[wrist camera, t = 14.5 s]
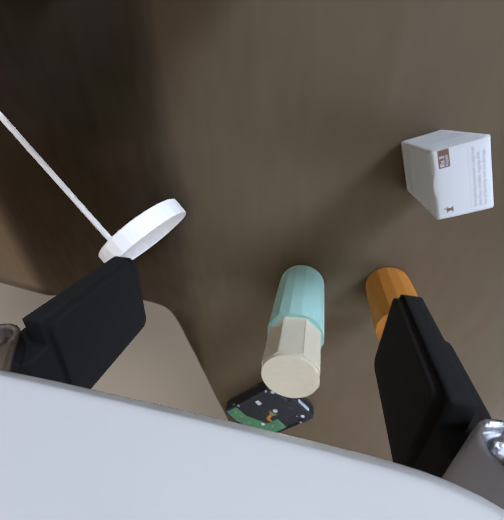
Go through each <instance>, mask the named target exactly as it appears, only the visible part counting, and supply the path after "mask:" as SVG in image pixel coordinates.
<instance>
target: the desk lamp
mask: <svg viewBox="0 0 504 520" xmlns="http://www.w3.org/2000/svg"><path fill="white" fill-rule="evenodd" d="M0 120H1V122H2V123H3V124H4V125H5V126H6V127H7V128H8V129H9V131H10V132H11V133H12V134H13V135H14V136H15V137H16V138H17V140H18V141H19V142H20V143H21V144H22V145H23V146H24V147H25V149H26V150H27V151H28V152H29V153H30V154H31V155H32V156H33V158H34V159H35V160H36V161H37V162H38V163H39V164H40V165H41V166H42V168H43V169H44V170H45V171H46V172H47V173H48V174H49V175H50V177H51V178H52V179H53V180H54V181H55V182H56V183H57V184H58V186H59V187H60V188H61V189H62V190H63V191H64V192H65V193H66V195H67V196H68V197H69V198H70V199H71V200H72V201H73V202H74V204H75V205H76V206H77V207H78V208H79V209H80V210H81V211H82V213H83V214H84V215H85V216H86V217H87V218H88V219H89V220H90V222H91V223H92V224H93V225H94V226H95V227H96V228H97V229H98V230H99V232H100V233H101V234H102V235H103V236H104V237H105V238H106V239H107V242H106V243H105V244H104V246H103V247H102V248H101V250H100V252H99V258H100V259H101V260H102V261H103V262H104V263H105V262H107V261H108V260H110V259H111V258H113V257H115V256H119V257H127V258H131V259H132V260H133V259H135V258H136V257H138V256H139V255H140V254H142V253H143V252H145V251H146V250H147V249H149V248H150V247H151V246H153V245H154V244H155V243H157V242H158V241H159V240H160V239H162V238H163V237H164V236H165V235H166V234H168V233H169V232H170V231H171V230H172V229H173V228H174V227H175V226H176V225H177V224H178V223H179V222H180V221H181V220H182V219H183V218H184V216H185V215H186V211H185V210H184V209H183V208H182V207H181V205H180V204H179V203H178V202H177V201H176V200H175V199H168V200H165V201H163V202H161V203H158V204H156V205H155V206H153V207H151V208H149V209H148V210H146V211H145V212H143V213H142V214H140V215H138V216H137V217H136V218H134V219H133V220H132V221H130V222H129V223H128V224H126V225H125V226H124V227H123V228H121V229H120V230H119V231H118V232H117V233H116V234H114V235H113V236H112V237H111V236H110V234H109V233H108V232H107V231H106V230H105V229H104V228H103V226H102V225H101V224H100V223H99V222H98V221H97V220H96V219H95V217H94V216H93V215H92V214H91V213H90V212H89V211H88V210H87V208H86V207H85V206H84V205H83V204H82V203H81V202H80V201H79V199H78V198H77V197H76V196H75V195H74V194H73V193H72V191H71V190H70V189H69V188H68V187H67V186H66V185H65V184H64V182H63V181H62V180H61V179H60V178H59V177H58V176H57V175H56V173H55V172H54V171H53V170H52V169H51V168H50V167H49V166H48V164H47V163H46V162H45V161H44V160H43V159H42V158H41V157H40V155H39V154H38V153H37V152H36V151H35V150H34V149H33V147H32V146H31V145H30V144H29V143H28V142H27V141H26V140H25V138H24V137H23V136H22V135H21V134H20V133H19V132H18V131H17V129H16V128H15V127H14V126H13V125H12V124H11V123H10V122H9V120H8V119H7V118H6V117H5V116H4V115H3V114H2V112H1V111H0Z"/></svg>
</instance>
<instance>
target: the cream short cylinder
mask: <svg viewBox="0 0 504 520" xmlns="http://www.w3.org/2000/svg"><path fill="white" fill-rule="evenodd" d="M320 353H321V332H320V331H319V330H318V329H317V328H316V327H315V326H314V325H313V324H312V323H311V322H309V321H308V320H307V319H306V318H297V317H286V316H285V317H283V318H282V319H280V320H279V321H278V322H276V323H275V324H274V325H272V326H271V327H270V331H269V335H268V339H267V343H266V346H265V350H264V354H263V358H262V362H261V364H262V370H261V376H262V379H263V381H264V383H265V384H266V386H267V387H268V388H269V389H271V390H272V391H273V392H275V393H277V394H279V395H281V396H285V397H289V398H302V397H306V396H309V395H311V394H312V393H314V392H315V391H316V390H317V388H318V387H319V382H320Z"/></svg>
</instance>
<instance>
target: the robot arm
mask: <svg viewBox="0 0 504 520" xmlns="http://www.w3.org/2000/svg"><path fill="white" fill-rule="evenodd" d="M23 322H24V324H25V326H26V328H24V329H23V330H22V331H20V328H19V327H18V326H17V325H13V324H0V520H504V421H502V420H496V419H492V418H491V416H490V415H489V413H488V411H487V409H486V407H485V406H484V404H483V402H482V400H481V398H480V396H479V395H478V393H477V391H476V389H475V387H474V386H473V384H472V382H471V380H470V378H469V376H468V375H467V373H466V371H465V369H464V367H463V366H462V364H461V362H460V360H459V358H458V356H457V355H456V353H455V351H454V349H453V347H452V346H451V345H450V343H448V342H445V340H444V338H443V337H442V335H441V333H440V331H439V329H438V327H437V325H436V323H435V322H434V320H433V318H432V316H431V314H430V312H429V310H428V308H427V306H426V305H425V303H424V301H423V299H422V298H421V297H418V296H410V295H403V294H402V295H400V297H399V298H394V299H393V300H392V303H391V307H390V310H389V313H388V317H387V320H386V323H385V327H384V330H383V333H382V337H381V340H380V343H379V347H378V350H377V354H376V357H375V364H374V366H375V373H376V378H377V383H378V388H379V393H380V398H381V403H382V408H383V413H384V418H385V423H386V429H387V434H388V439H389V444H390V449H391V454H392V459H393V462H391V461H388V460H385V459H381V458H377V457H373V456H369V455H365V454H361V453H358V452H354V451H350V450H346V449H342V448H338V447H334V446H330V445H326V444H322V443H318V442H314V441H310V440H306V439H302V438H298V437H293V436H289V435H285V434H281V433H277V432H272V431H268V430H264V429H260V428H256V427H251V426H247V425H243V424H239V423H235V422H231V421H226V420H222V419H218V418H214V417H209V416H205V415H200V414H196V413H192V412H188V411H183V410H179V409H175V408H171V407H166V406H162V405H158V404H153V403H149V402H145V401H140V400H136V399H132V398H127V397H123V396H119V395H114V394H110V393H105V392H101V391H96V390H92V389H91V388H92V387H93V386H94V384H95V383H96V382H97V381H98V380H99V379H100V377H101V376H102V375H103V374H104V373H105V372H106V370H107V369H108V368H109V367H110V366H111V365H112V363H113V362H114V361H115V360H116V358H117V357H118V356H119V355H120V354H121V353H122V352H123V350H124V349H125V348H126V347H127V346H128V345H129V343H130V342H131V341H132V340H133V339H134V337H135V336H136V335H137V334H138V333H139V332H140V330H141V329H142V328H143V327H144V324H145V322H146V315H145V310H144V304H143V298H142V293H141V287H140V281H139V276H138V270H137V265H136V263H134V262H133V260H132V259H131V258H127V257H119V256H115V257H113V258H111V259H110V260H108V261H107V262H105V263H104V264H102V265H101V266H99V267H98V268H96V269H95V270H94V271H92V272H91V273H89V274H88V275H86V276H85V277H83V278H82V279H80V280H79V281H77V282H76V283H74V284H73V285H71V286H70V287H68V288H67V289H65V290H64V291H62V292H61V293H60V294H58V295H57V296H55V297H54V298H52V299H51V300H49V301H48V302H46V303H45V304H43V305H42V306H40V307H39V308H37V309H36V310H34V311H33V312H31V313H30V314H28V315H27V316H26V317H24V318H23Z"/></svg>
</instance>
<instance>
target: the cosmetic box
mask: <svg viewBox="0 0 504 520" xmlns="http://www.w3.org/2000/svg"><path fill="white" fill-rule="evenodd" d="M401 147H402V154H403V162H404V169H405V177H406V185H407V190H408V191H409V192H410V193H411V194H412V195H413V196H414V197H415V198H416V199H417V200H418V201H419V202H420V203H421V204H422V205H423V206H424V207H425V208H426V209H427V210H428V211H429V212H430V213H431V214H432V215H433V216H434V217H435V218H436V219H438V220H440V219H444V218H449V217H453V216H458V215H462V214H467V213H471V212H475V211H480V210H484V209H488V208H492V207H493V206H494V202H493V184H492V165H491V144H490V135H488V134H480V133H469V132H459V131H449V130H438V131H435V132H432V133H429V134H425V135H422V136H419V137H415V138H412V139H408V140H405V141H402V142H401Z"/></svg>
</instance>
